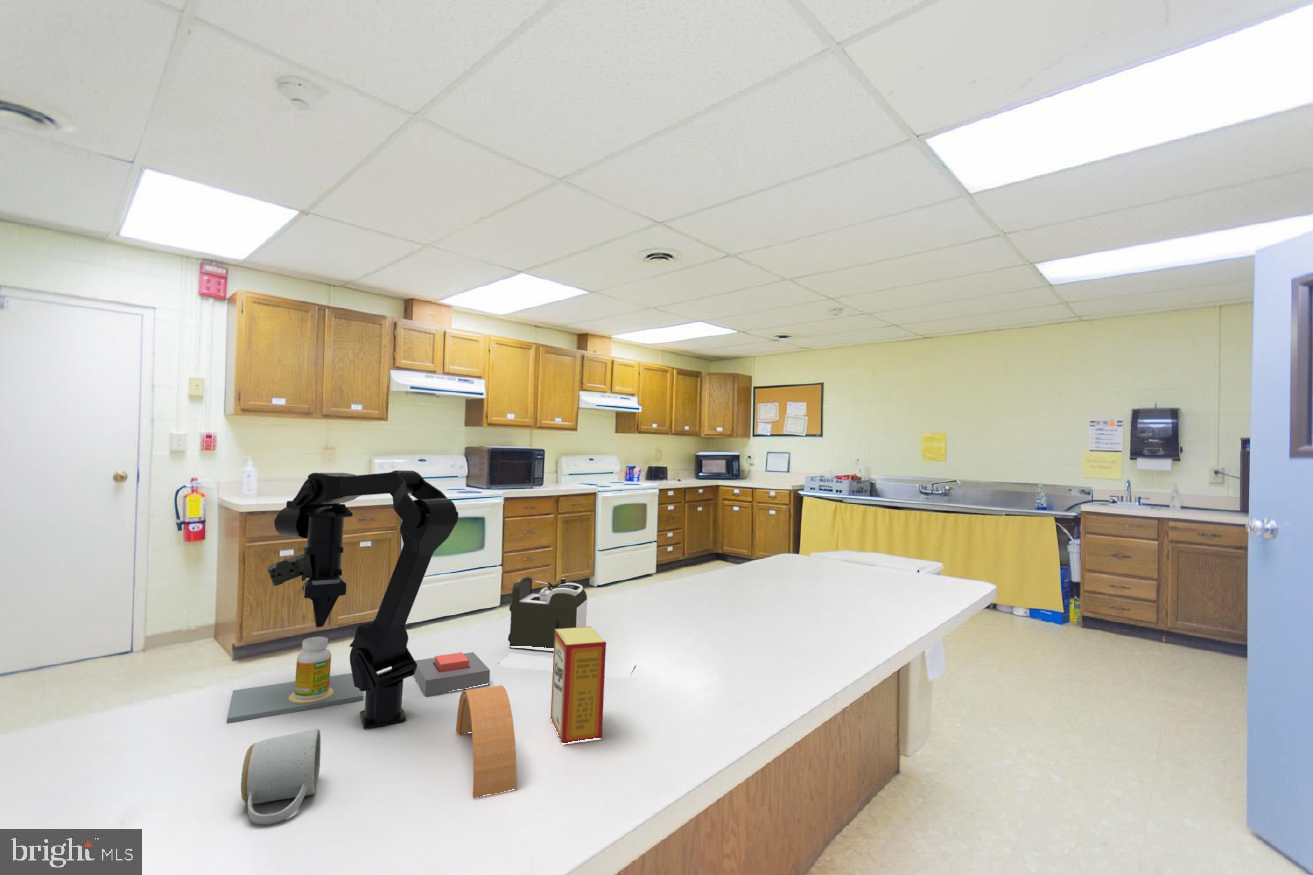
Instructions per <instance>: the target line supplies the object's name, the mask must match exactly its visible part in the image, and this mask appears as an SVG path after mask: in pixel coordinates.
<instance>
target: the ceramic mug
mask: <svg viewBox="0 0 1313 875" xmlns="http://www.w3.org/2000/svg"><path fill="white" fill-rule="evenodd" d="M321 744H322V742H321V730H320V729H319V728H313V729H309V730H305V731H301V732H300V731H299V732H296V733H291V734H285V735H280V736H276V737H270V738H266V739H263V740H261V741H258V742H254V743H253V744H251V745H250V746H249V747H248V749H247V750H246V752H245V756H244V759H243V764H242V770H241V780H240V781H241V782H240V793H241V795H240V796H241V799H242V801H243V802H245V804H247V813H248V817H249V820H251V822H253V823H255V824H257V825H260V826H263V825H264V826H266V825H267V826H268V825H273V824H278V823H280V822H283V821H284V820H286V819H288V818H289V817H290V816H292V815H293V814H294V813H295V812H296V811H297V810H298V809H299V807H300V805H301V804H302V802H303V800H304V798H305V797H306V796H311V795H314V794H316V793H317V789H318V786H319V779H320V777H319V776H320V766H321ZM293 798H294V800H293V801H292V802H291V803H290V804H288V806H286V807H285V808H284V809H282V810H280V811H278V812H275V813H269V814H262V813H260V812H256V810H254V808H253V805H254V804H263V803H269V802H270V803H271V802H274V801H279V800H281V801H282V800H288V799H293Z"/></svg>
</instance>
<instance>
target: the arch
mask: <svg viewBox="0 0 1313 875" xmlns="http://www.w3.org/2000/svg"><path fill="white" fill-rule="evenodd" d="M456 715H457V716H456V724H455V725H456V728H455V733H456V732H457V733H456V735H457V734H460V733H462V734H463V735H465V734H464V733H468V732H472V733H471V736H472V737H471V738H472V763H473V765H472V766H473V767H472V768H473V769H472V772H473V773H472V776H473V778H472V784H473V785H472V799H473V798H476V797H480V796H483V795H487V794H495V793H500V792H504V791H508V790H512V789H516V790H517V751H516V749H517V748H516V738H515V737H516V736H515V728H514V718H513V711H512V707H511V702H510V698H509V695H508V692H507V690H506V688H505V686H504V685H494V686H484V687H478V688H472V689H467V690H461V693H460V696H459V700H458V706H457V713H456ZM462 734H460V735H462ZM500 794H501V793H500ZM495 795H496V794H495ZM476 799H477V798H476Z"/></svg>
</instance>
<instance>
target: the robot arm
mask: <svg viewBox="0 0 1313 875" xmlns="http://www.w3.org/2000/svg"><path fill="white" fill-rule="evenodd" d="M388 494H390V496H391V497H392V504H393V510H394V512H395V513H396V515H398V517H399V518H400V519H401V523H400V528H399V531H400V536H401V540H402V543H403V544H402V545H403V546H402V548H401V551H400V553H399V556H398V558H397V561H396V564H395V566H394V569H393V572H392V574H391V577H390V579H389V582H388V584H387V586H386V590H385V593H384V594H383V598H382V600H381V602H380V605H379V607H378V611H377V614H376V615H375V618H374V620H373V621H370V622H366V623H363V624H359V625H358V626H357V628H356V630H355V634H354V638H353V640H352V642H351V643H350V644H349V648H351V650H350V652H349V664H350V665H349V666H350V670H351V673H352V676H353V682H354V686H355V687H357V688H359V691H362V692H365V700H364V702H365V703H364V710H361V711H359V717H360V720H361V724H362V727H363V729H370V728H371V729H372V728H376V727H381V726H385V725H386V726H387V725H391V724H397V723H402V722H406V721H407V715H406V713H405V711H404V708H403V707H402V704H403V689H404V680H406V679H407V678H409V677H414V676H413V675H414V674H415V671H416V668H417V663H416V662H415V659H414V657H413V655H412V654H411V652H410V650H409V648H408V642H409V634H408V631H407V626H406V625H407V621H408V618H409V616H410V613H411V611H412V608H413V605H414V602H415V600H416V598H417V595H418V593H419V590H420V588H421V586H422V582H423V580H424V577H425V575H426V572H427V570H428V567H429V564H430V563H431V559H432V557H433V554H434V553H435V551H436V550H438V548H439V547H440V546H442V545H443V543H444V542H445V541H446V540H447V539H449V537H450V535H451V533H452V532H453V530H454V528H455V526H456V525H457V523H458V520H459V512H458V510H457V507H456V505H455V504H454V502H453V501H452V500H451V499H450V498H448V497H447V496H446V495H445V494H444V493H443V492H442V491H441V490H440V489H438V488H437V487H435V486H434V485H433V484H431V483H430V482H428V481H426V479H424V478H423V476H422V475H421V474H420V473H419V472H416V471H415V470H398V469H397V470H396V469H395V470H392V471H391V472H380V473H371V474H354V473H349V472H348V473H347V472H312V473H309V474H308V475H307V479H306V480H305V481H304V482H303V484H302V486H301V487H300V489H299V490H298V492H297V494H296V495H295V497H294V498H292V500H287V501H286V506H285V507H283V508H282V509H281V510H280V511H278V513H277V515H276V517H275V518H274V521H273V522H274V528H275V529H274V530H276V532H277V533H278V534H280V535H281V536H283V537H292V538H299V539H300V538H301V539H306V546H304V547H303V553H302V554H299V555H295V556H292V557H289V558H285V559H283V560H281V561H276V562H274V563H272V564H269V565H268V566H267V573H268V574H269V578H270V580H271V583H272V586H273V587H277V586H279V585H283V584H284V583H286V582H288V581H291V580H293V579H296V578H298V577H300V581H301V582H304V584H303V586H302V592H303V598H304V599H309V600H311V601H312V608H313V614H314V615H313V616H314V621H315V627H316V628H323V627H324V626H325V624H326V623H327V620H328V617H329V616H330V615H331V612H332V610H333V608H334V606H335V605H336V602H337V601H338V599H339V597H343V596H346V595H347V582H346V580H345V579H344V578H343V577H341V576H343V569H342V560H343V558H342V557H343V553H344V549H345V548H344V547H345V546H343V542H344V526H345V525H344V524H345V518H351V517H353V516H354V515H353V512H352V511H351V510H350V509H349V508H348V507H347V505H346V504H345V503H348V502H351V501H353V500H356V499H357V498H358V497H361V496H375V495H388ZM410 495H411V496H412V497H413V498H414V500H413V498H412V497H411V496H410ZM390 667H391V668H390ZM388 668H390V669H388ZM385 669H387V670H385ZM383 670H385V671H383ZM380 671H382V672H380ZM378 672H380V673H378Z"/></svg>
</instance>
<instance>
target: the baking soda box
mask: <svg viewBox="0 0 1313 875" xmlns="http://www.w3.org/2000/svg"><path fill="white" fill-rule="evenodd" d="M606 647H607V642H606V641H605V640H604V639H603V637H602V636H600V634H599V633H598V632H597V631H596V630H595V629H594V628H593V627H592V626H586V627H575V628H560V629H555V635H554V652H553V656H552V657H553V672H552V677H551V678H552V679H551V680H552V682H551V700H550V702H551V703H550V720H551V719H552V722H553V724H554V726H555V728H556V731H557V732H558V735H559V738H560V739H561V742H562V743H568V742H572V741H578V740H579V741H580V740H585V739H593V738H602V739H603V723H604V722H603V721H604V718H603V717H604V698H605V697H604V695H605V693H604V692H605V662H606V651H607V650H606V649H607V648H606ZM552 722H551V723H552ZM556 731H555V732H556ZM559 738H558V739H559ZM561 742H560V743H561Z"/></svg>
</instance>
